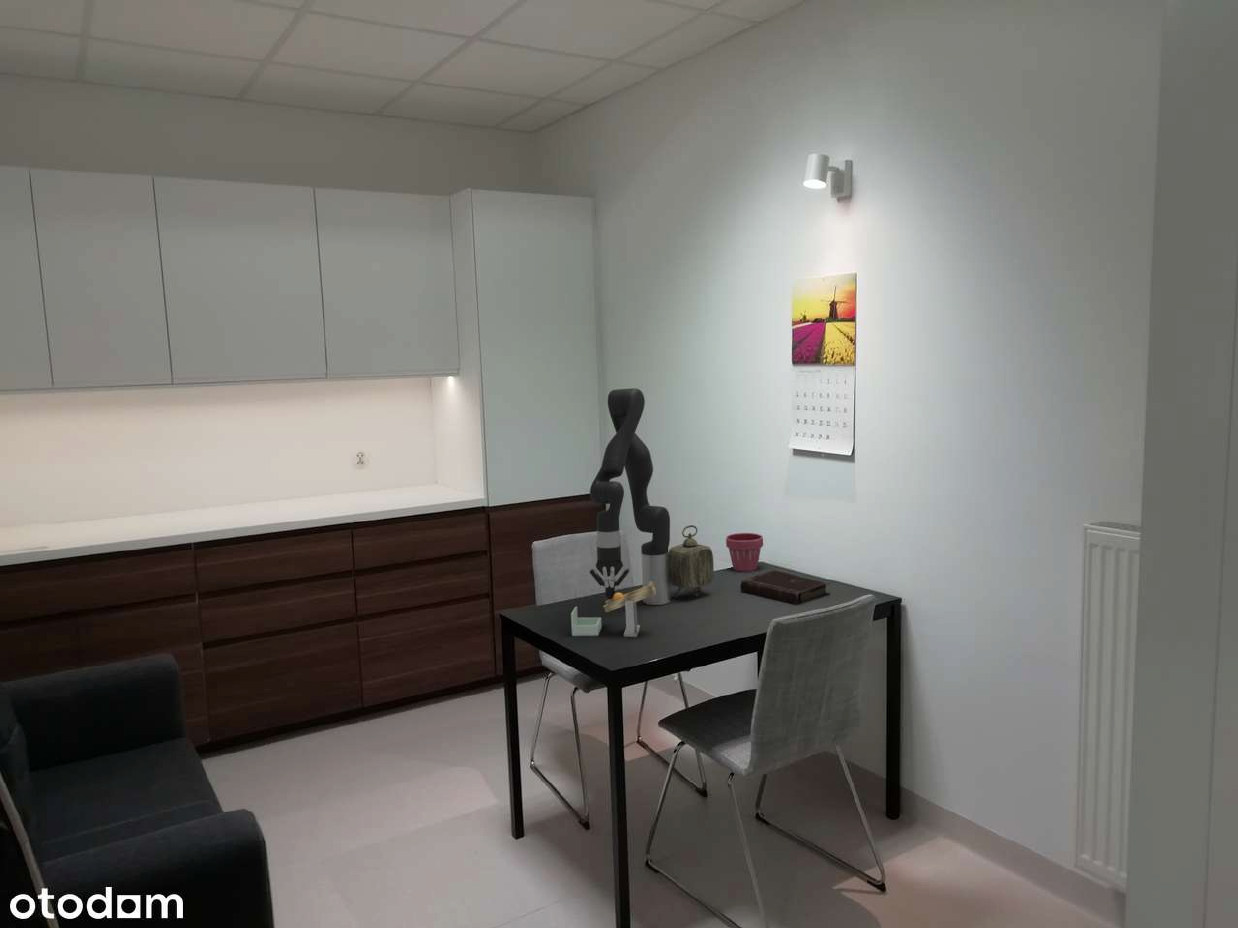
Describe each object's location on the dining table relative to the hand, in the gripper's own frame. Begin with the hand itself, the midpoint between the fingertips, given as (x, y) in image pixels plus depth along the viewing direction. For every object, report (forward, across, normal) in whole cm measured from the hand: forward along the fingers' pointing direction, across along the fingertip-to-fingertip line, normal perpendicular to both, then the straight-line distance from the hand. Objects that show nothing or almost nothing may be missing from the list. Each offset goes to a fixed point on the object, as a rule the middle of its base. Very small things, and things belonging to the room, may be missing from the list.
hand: (610, 598), depth 281 cm
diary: (+8, -56, -36) cm, 68 cm away
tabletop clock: (+8, -24, -33) cm, 42 cm away
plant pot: (+8, -43, -71) cm, 84 cm away
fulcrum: (+9, -7, +7) cm, 13 cm away
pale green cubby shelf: (+9, +7, +7) cm, 13 cm away
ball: (-2, -4, +7) cm, 8 cm away
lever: (-1, -7, +4) cm, 8 cm away
